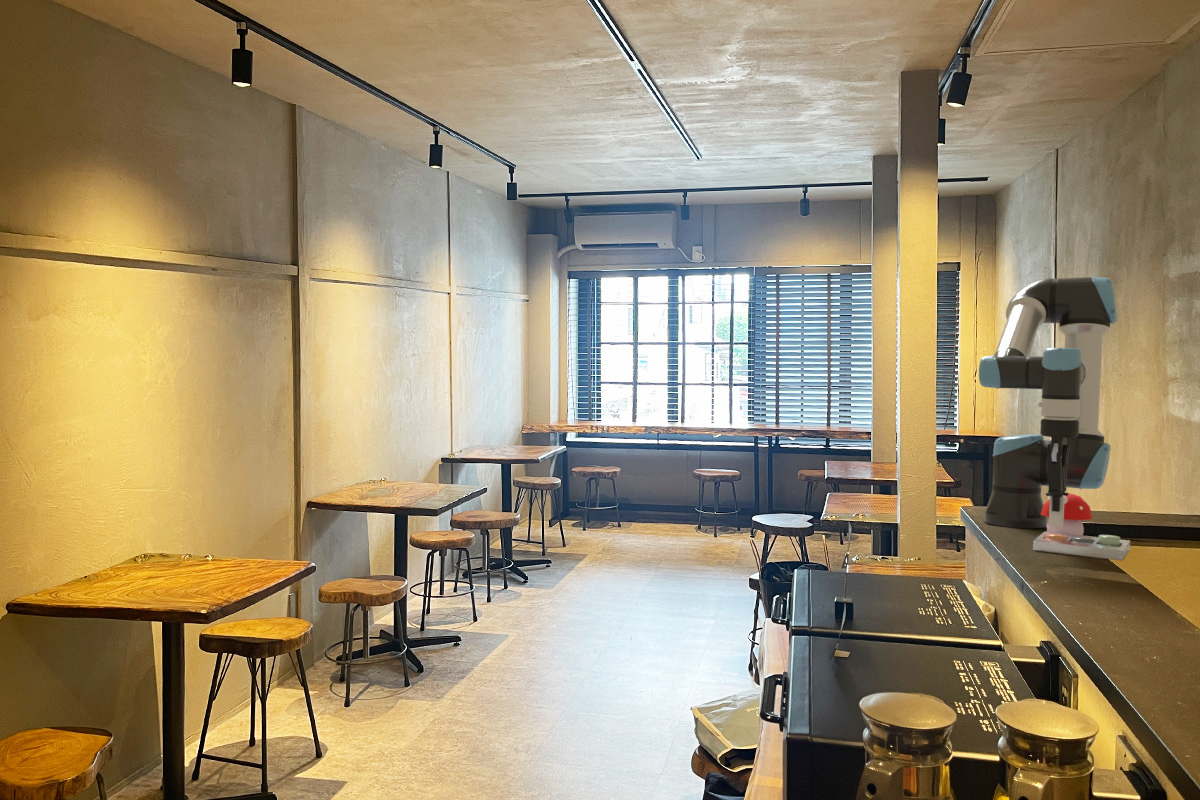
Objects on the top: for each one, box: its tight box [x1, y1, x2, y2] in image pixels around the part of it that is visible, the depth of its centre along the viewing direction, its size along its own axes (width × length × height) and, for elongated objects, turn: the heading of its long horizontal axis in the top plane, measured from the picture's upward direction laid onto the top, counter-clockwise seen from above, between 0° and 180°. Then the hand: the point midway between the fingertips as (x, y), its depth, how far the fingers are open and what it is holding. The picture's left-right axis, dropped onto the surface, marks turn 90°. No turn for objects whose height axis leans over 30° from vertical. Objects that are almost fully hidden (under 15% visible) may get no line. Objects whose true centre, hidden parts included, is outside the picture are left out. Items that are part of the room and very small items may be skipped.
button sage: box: [1098, 534, 1121, 547], centre depth 199 cm, size 4×4×2 cm
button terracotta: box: [1045, 534, 1066, 541], centre depth 204 cm, size 4×4×2 cm
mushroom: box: [1041, 492, 1094, 536], centre depth 216 cm, size 11×11×12 cm
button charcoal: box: [1072, 536, 1093, 544], centre depth 202 cm, size 4×4×2 cm
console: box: [1032, 531, 1131, 562], centre depth 202 cm, size 14×17×4 cm
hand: (1056, 525), depth 205 cm, fingers closed
